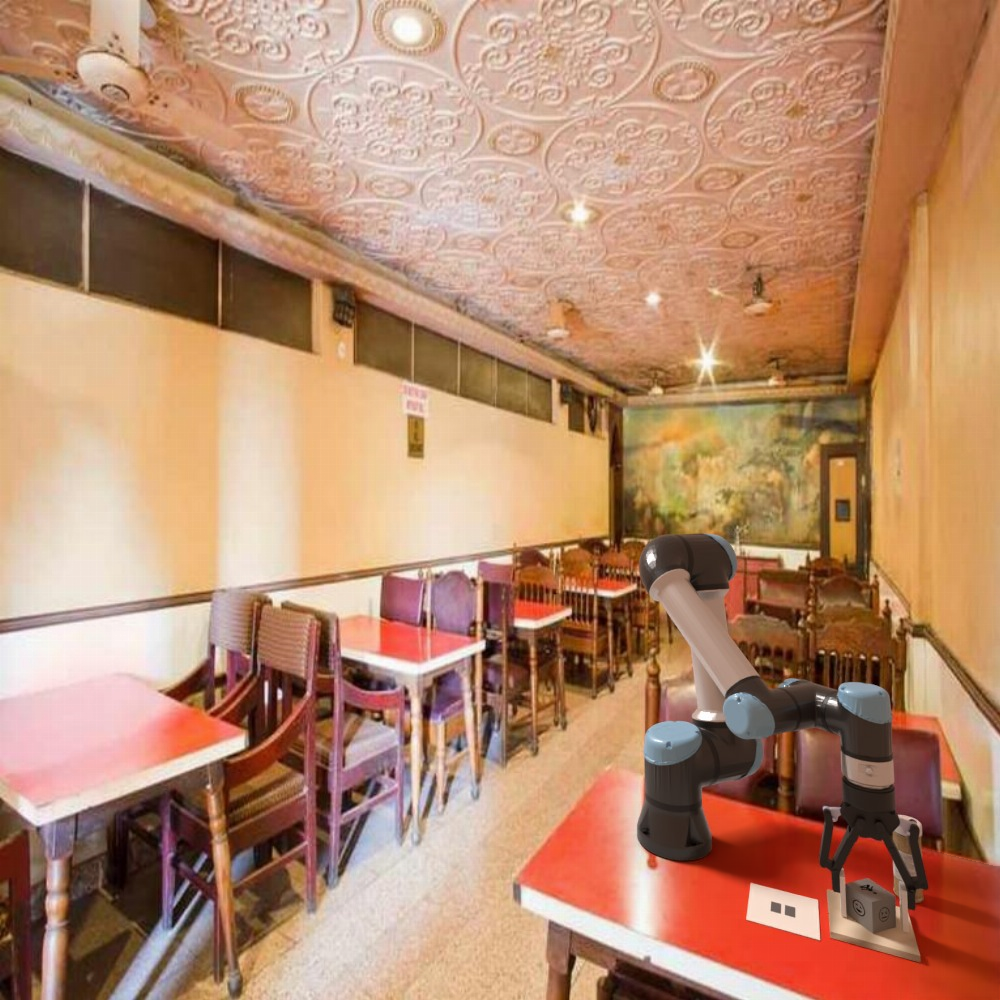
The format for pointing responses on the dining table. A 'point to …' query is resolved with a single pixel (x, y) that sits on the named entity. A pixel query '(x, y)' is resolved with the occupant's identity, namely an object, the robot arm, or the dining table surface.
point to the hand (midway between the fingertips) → (873, 919)
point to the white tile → (784, 911)
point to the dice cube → (870, 905)
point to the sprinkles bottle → (906, 857)
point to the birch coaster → (883, 941)
